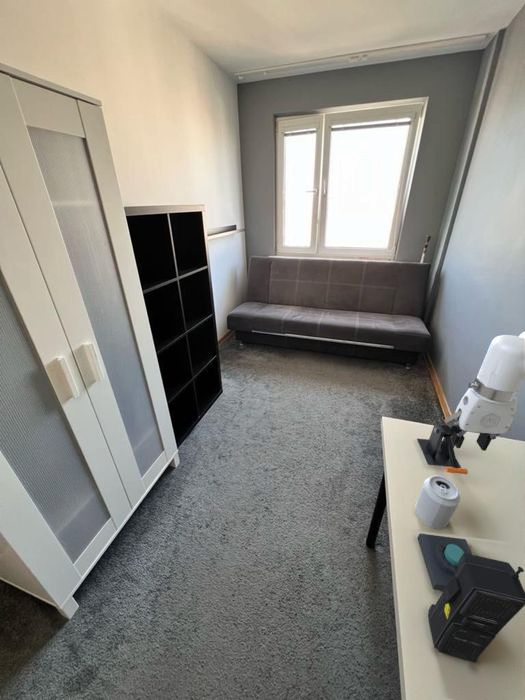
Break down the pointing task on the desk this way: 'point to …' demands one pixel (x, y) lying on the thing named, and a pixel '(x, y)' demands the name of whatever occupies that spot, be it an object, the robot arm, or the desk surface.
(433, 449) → the kettle bracket
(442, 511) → the can
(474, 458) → the desk surface
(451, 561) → the socket button
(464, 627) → the portable radio
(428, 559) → the socket block
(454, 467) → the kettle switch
